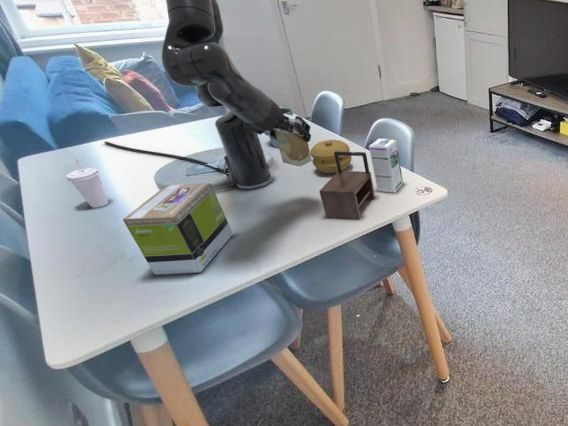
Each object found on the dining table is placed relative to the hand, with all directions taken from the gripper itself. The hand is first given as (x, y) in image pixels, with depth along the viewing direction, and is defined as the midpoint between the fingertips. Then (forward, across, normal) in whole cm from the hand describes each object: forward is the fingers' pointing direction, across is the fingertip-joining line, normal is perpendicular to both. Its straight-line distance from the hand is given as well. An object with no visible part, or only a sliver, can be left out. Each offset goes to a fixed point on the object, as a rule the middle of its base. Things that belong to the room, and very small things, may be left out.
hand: (294, 138), depth 111 cm
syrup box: (+19, -20, +7) cm, 29 cm away
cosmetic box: (+4, 0, +5) cm, 7 cm away
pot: (+27, +2, -1) cm, 27 cm away
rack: (+11, -13, +15) cm, 23 cm away
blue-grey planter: (+42, +30, -16) cm, 54 cm away
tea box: (-6, +14, +32) cm, 36 cm away
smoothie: (+8, +57, +18) cm, 60 cm away
